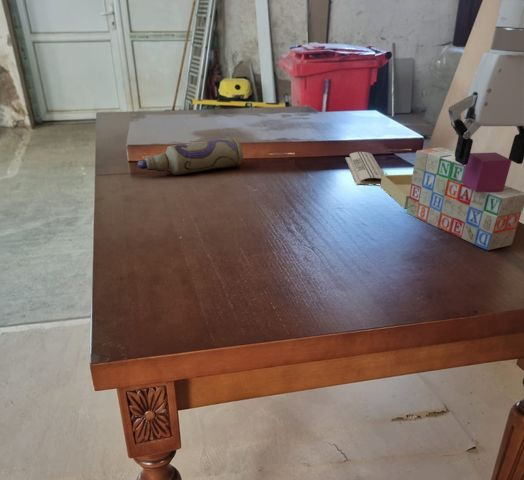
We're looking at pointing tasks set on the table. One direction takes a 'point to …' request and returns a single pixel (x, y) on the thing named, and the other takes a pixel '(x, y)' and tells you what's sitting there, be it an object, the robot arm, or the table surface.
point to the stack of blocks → (462, 202)
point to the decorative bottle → (196, 157)
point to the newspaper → (364, 168)
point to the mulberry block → (486, 172)
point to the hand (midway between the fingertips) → (488, 162)
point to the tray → (398, 187)
